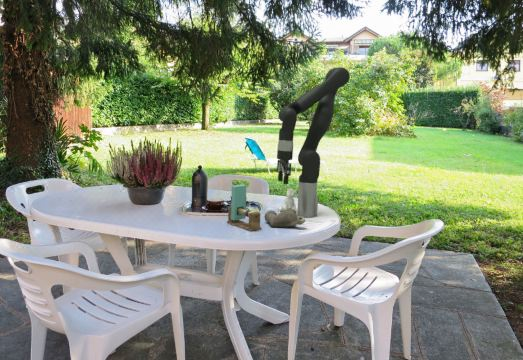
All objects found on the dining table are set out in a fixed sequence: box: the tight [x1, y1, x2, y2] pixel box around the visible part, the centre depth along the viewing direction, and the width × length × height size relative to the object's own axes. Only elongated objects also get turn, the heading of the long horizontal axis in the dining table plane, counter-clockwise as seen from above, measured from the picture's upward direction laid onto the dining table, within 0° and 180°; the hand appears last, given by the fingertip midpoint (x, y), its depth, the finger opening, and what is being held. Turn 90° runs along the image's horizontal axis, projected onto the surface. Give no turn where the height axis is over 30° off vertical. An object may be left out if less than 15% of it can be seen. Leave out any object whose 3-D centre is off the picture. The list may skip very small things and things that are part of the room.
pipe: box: [264, 208, 306, 228], centre depth 213 cm, size 16×9×15 cm
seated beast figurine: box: [277, 188, 298, 213], centre depth 240 cm, size 10×9×12 cm
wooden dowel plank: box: [226, 205, 262, 233], centre depth 210 cm, size 18×6×8 cm, turn 41°
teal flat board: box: [230, 184, 247, 221], centre depth 212 cm, size 2×6×16 cm, turn 131°
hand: (282, 182), depth 227 cm, fingers open, 8 cm apart
